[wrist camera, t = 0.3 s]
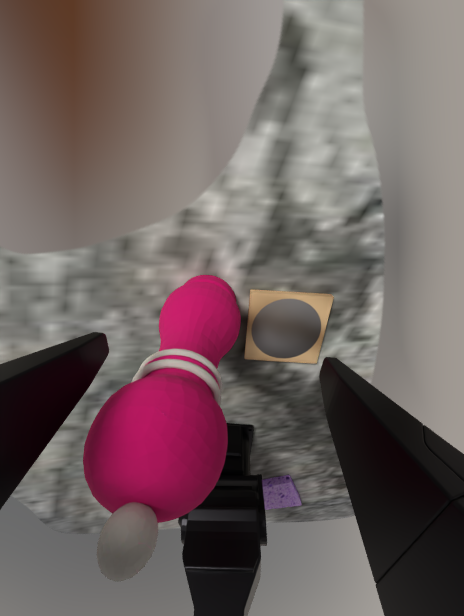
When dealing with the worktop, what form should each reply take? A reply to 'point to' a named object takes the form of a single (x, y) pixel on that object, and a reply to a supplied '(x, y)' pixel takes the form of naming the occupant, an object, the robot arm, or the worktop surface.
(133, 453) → the pepper mill
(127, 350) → the worktop surface
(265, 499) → the sponges
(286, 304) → the dock
